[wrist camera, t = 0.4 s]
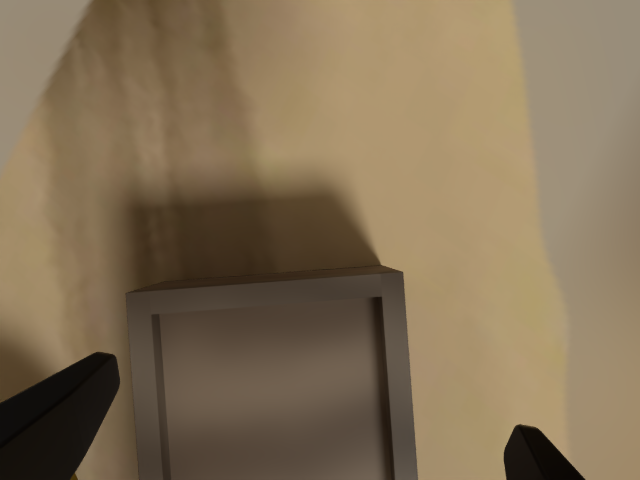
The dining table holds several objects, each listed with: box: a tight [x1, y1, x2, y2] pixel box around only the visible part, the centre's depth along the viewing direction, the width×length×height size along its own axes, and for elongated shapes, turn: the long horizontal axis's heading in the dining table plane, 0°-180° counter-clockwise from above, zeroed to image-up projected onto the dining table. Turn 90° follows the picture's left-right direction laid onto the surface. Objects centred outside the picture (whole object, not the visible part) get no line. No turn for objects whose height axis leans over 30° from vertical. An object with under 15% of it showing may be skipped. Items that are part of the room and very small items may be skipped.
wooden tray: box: [126, 265, 418, 480], centre depth 21 cm, size 16×12×5 cm
